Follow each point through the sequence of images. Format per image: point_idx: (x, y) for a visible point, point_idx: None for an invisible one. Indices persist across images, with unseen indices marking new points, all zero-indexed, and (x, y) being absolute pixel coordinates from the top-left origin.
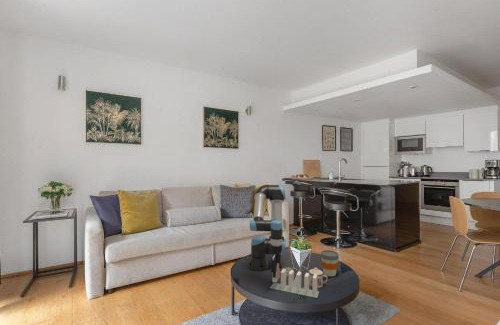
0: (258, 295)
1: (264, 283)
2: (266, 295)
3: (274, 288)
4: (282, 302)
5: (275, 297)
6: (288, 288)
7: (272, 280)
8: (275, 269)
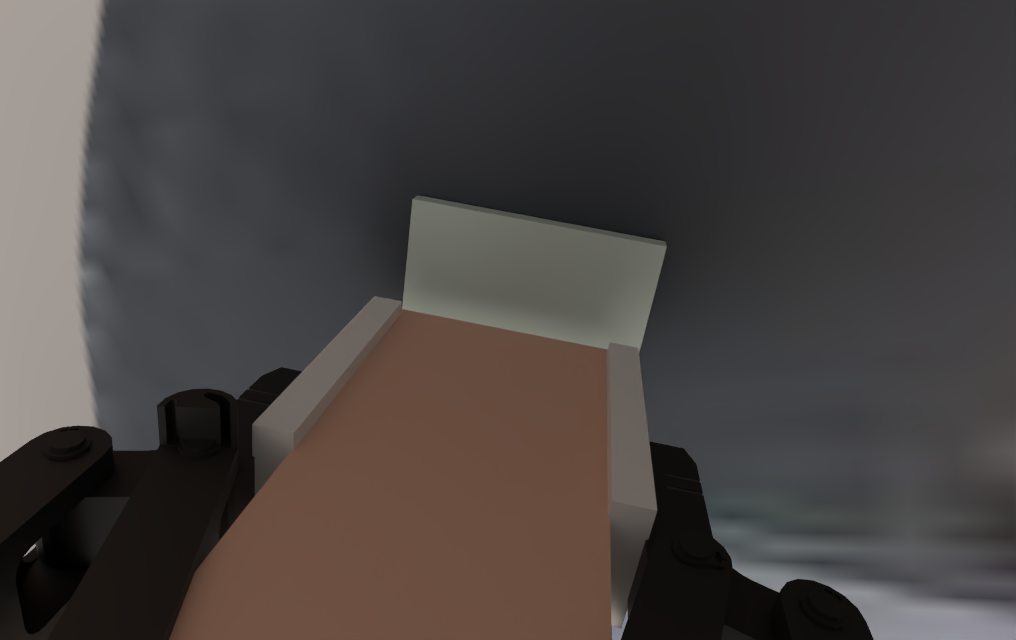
0: (103, 16)
1: (630, 34)
2: (170, 171)
3: (418, 291)
4: (100, 428)
5: (178, 326)
6: None
7: (363, 308)
8: (48, 631)
